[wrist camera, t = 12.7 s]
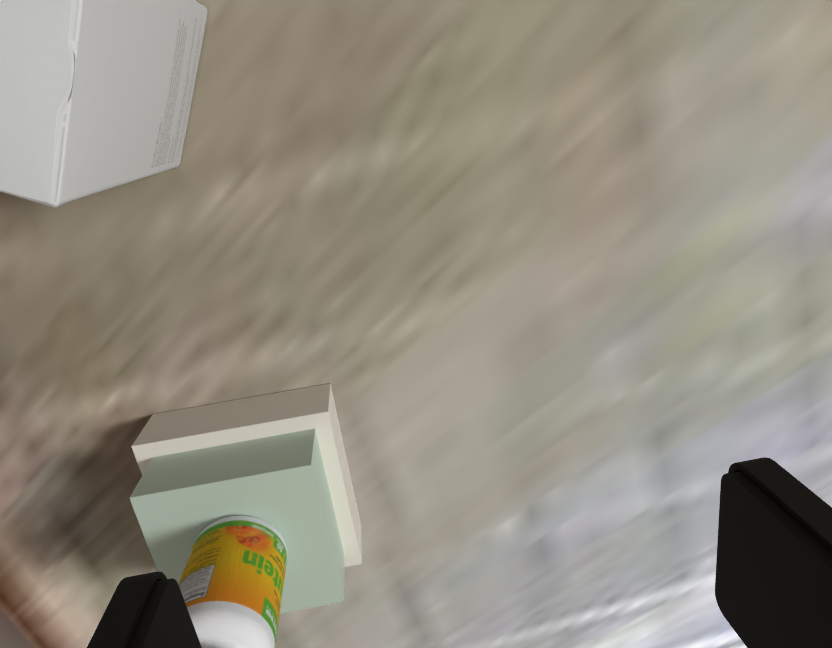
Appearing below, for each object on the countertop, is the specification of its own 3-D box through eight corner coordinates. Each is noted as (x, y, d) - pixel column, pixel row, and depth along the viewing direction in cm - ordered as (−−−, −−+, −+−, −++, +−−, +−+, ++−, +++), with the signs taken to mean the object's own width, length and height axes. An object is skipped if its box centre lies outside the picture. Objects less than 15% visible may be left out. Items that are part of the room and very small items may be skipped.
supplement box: (32, -57, 29) (-262, -217, 15) (211, 8, 31) (96, -83, 17) (14, 123, 32) (-251, 128, 18) (180, 173, 34) (57, 213, 20)
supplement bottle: (307, 556, 34) (292, 716, 25) (234, 602, 35) (193, 774, 25) (248, 495, 32) (208, 644, 23) (172, 544, 33) (104, 709, 24)
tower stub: (152, 414, 39) (104, 486, 31) (330, 383, 39) (325, 446, 32) (201, 555, 43) (169, 648, 35) (360, 525, 43) (362, 610, 36)
